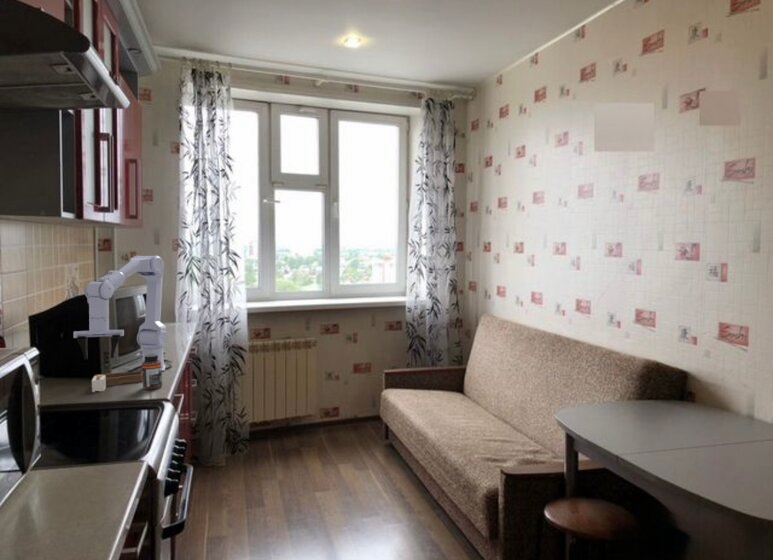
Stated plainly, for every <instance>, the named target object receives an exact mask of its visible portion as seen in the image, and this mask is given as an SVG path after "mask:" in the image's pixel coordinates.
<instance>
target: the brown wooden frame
mask: <svg viewBox="0 0 773 560" xmlns="http://www.w3.org/2000/svg"><path fill="white" fill-rule="evenodd" d="M97 375H106V387H107V386H115V385H122V384H129V383H130V384H131V383H139V382H140V381H142V382H143V376H142V370H137V371H126V372H112V373H111V372H110V373H101V374H94V376H97Z"/></svg>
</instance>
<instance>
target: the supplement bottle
mask: <svg viewBox="0 0 773 560" xmlns="http://www.w3.org/2000/svg"><path fill="white" fill-rule="evenodd" d="M141 371H142V376H143V381H142V388H143V389H144V390H146V389H147V391H151V390H152V389H153V390H158V389H160V388H162V387H163V376H162V372H163V371H162V370H161V361H160V360H158V355H157V354H148V355H145V361H144V362H143V361H142V363H141Z"/></svg>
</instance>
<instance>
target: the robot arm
mask: <svg viewBox="0 0 773 560" xmlns="http://www.w3.org/2000/svg"><path fill="white" fill-rule="evenodd" d="M164 268H165V262H164V260H163V259H162V257H160V256H159V255H135V256H133V257H131V258H130V259H129V261H128V262H127V263H126V264H124V266H122V267H121V268H120V269H119V270H109V271H107V274H106V275H104V276H102V277H100V278H98V280H97V281H91V282H89V283H88V284H87V285H86V287H85V289H84V295H85V297H86V298H87V304H88V307H89V308H88V314H89V315H88V316H89V319H88V321H89V325H88V327H89V328H88V329H89V330H79V331H76V330H74V331H73V333H72V334H73V339H76V340H77V344H78V345H79V347H80V348H81V351H82V354H83V358H84V360H88V357H89V354H88V353H89V352H88V351H89V350H88V341H89V338H98V337H110V344H111V348H110V349H111V350H110V359H114V357H115V353H116V349H117V347H118V346H117V345H118V343H119V341H120V339H121V337H124V335H125V330H124V329H110V298H112V297H113V294H114V292H115V291H116V290H117V289H119V288H120V287H121V286H123V285H124V284H125V282H126V279H127V278H129V277H131V276H132V275H134V274H135V273H136V274H138V275H139V276H140V277H142V278H144V279H145V280H146V282H147V284H146V299H145V300H146V301H145V316H144V317H145V318H144V322H143V323H141V325H140V326H139V328H138V333H137V335H136V341H137V343H138V346H140V348H141V349H142V363H143V362H144V361H145V355H148V354H157V355H158V360H160V361H161V370H162V372H164V371H166V364H165V363H164V362H165V361H164V359H165V358H164V347H166V344H167V343H168V341H169V340H168V339H169V335H168V332H167V325H165V324H163V323H162V322H161V316H162V315H161V313H162V296H163V280H164V279H163V278H164Z"/></svg>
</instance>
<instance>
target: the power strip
mask: <svg viewBox="0 0 773 560" xmlns="http://www.w3.org/2000/svg"><path fill="white" fill-rule="evenodd" d="M96 375H97V376H95V375H94V376H93V377H92V379H91V392H92V393H96V392H95V391H99V392H104V391H105V390H106V388H107V386H106V375H98V374H96Z"/></svg>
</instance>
